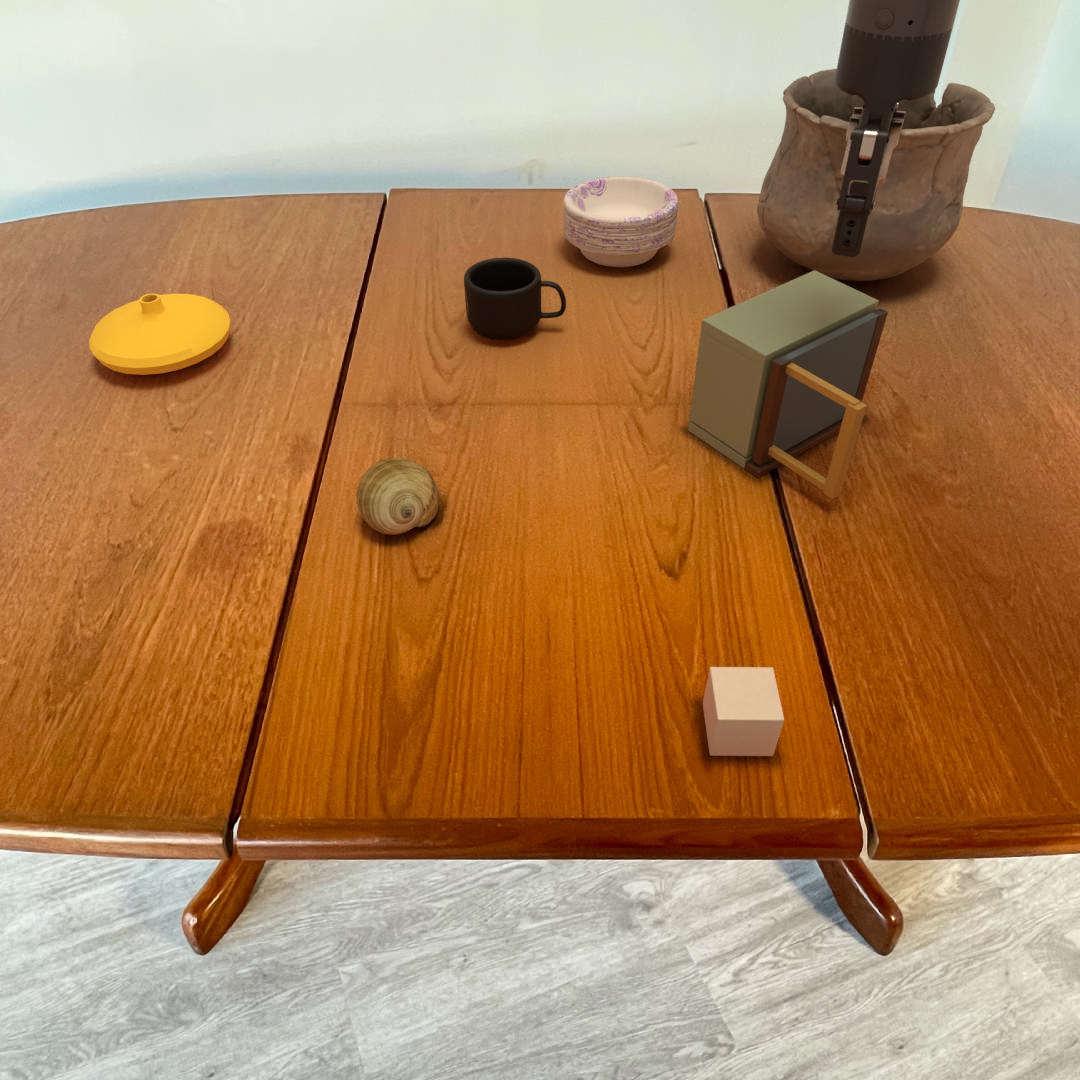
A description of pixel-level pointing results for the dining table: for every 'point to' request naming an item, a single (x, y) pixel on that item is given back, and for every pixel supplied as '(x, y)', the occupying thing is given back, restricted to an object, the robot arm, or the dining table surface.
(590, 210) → the paper bowls
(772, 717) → the block
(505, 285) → the mug
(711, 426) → the cabinet
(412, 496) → the seashell
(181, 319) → the vase
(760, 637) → the dining table surface
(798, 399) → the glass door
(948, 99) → the pot
